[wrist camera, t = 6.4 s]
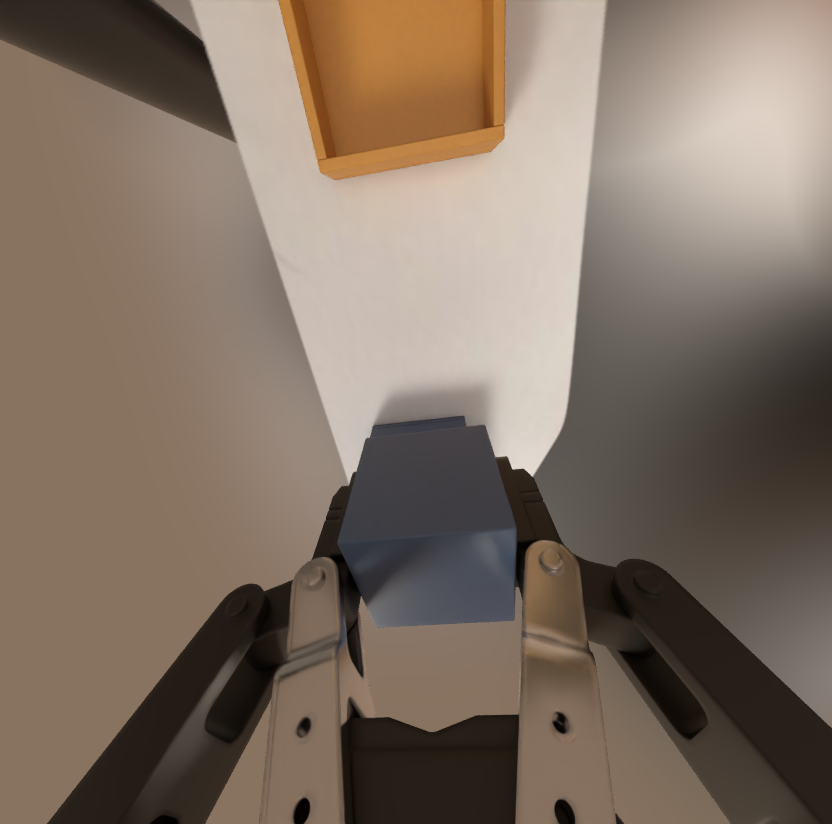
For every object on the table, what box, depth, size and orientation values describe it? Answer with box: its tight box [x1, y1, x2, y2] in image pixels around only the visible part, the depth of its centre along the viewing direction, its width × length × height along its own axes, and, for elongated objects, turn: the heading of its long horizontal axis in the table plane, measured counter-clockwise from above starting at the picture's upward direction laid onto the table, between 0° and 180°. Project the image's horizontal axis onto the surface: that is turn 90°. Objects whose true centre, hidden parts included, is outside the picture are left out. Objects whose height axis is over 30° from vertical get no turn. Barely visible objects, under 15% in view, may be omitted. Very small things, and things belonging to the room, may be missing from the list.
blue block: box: [337, 425, 517, 628], centre depth 10 cm, size 4×4×4 cm
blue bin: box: [370, 416, 466, 438], centre depth 32 cm, size 10×10×4 cm
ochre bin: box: [278, 0, 505, 180], centre depth 16 cm, size 11×11×4 cm
